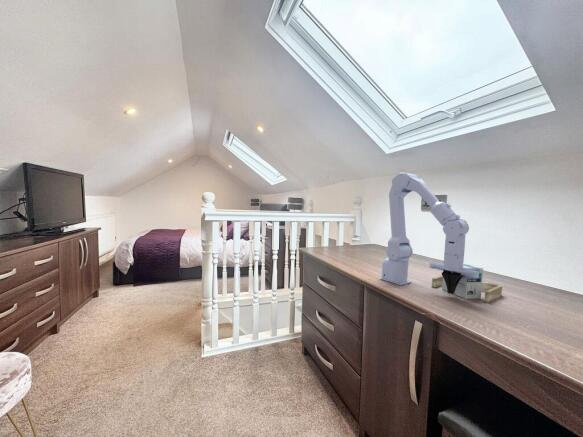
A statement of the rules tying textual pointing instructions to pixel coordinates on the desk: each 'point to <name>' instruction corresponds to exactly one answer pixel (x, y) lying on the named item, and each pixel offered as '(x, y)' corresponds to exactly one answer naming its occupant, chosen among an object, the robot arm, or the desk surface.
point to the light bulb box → (468, 284)
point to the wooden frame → (490, 289)
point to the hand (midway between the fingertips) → (451, 293)
